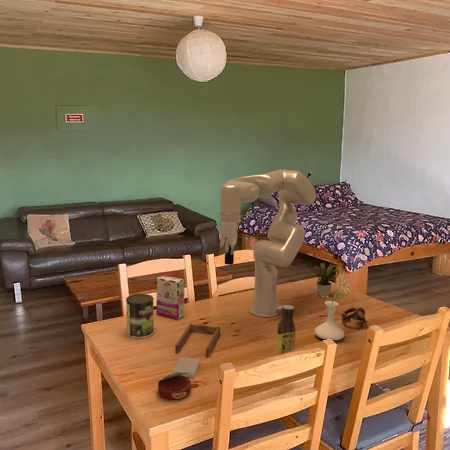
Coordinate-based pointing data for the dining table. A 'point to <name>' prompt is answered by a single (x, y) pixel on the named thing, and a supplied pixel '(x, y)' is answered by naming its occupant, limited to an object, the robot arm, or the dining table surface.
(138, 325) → the coffee can
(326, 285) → the house plant
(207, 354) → the brown u-shaped frame
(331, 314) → the flower in vase
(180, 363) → the cover plate
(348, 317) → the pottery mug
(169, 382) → the canned food
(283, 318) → the sauce bottle
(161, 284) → the candy bar box
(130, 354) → the dining table surface
